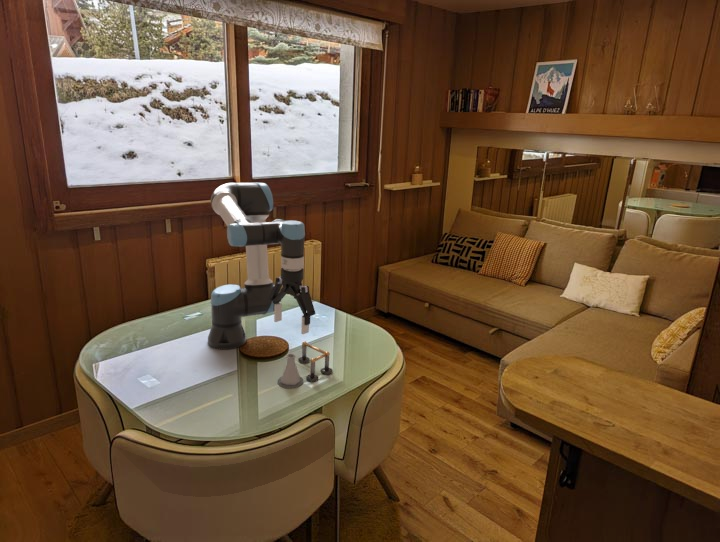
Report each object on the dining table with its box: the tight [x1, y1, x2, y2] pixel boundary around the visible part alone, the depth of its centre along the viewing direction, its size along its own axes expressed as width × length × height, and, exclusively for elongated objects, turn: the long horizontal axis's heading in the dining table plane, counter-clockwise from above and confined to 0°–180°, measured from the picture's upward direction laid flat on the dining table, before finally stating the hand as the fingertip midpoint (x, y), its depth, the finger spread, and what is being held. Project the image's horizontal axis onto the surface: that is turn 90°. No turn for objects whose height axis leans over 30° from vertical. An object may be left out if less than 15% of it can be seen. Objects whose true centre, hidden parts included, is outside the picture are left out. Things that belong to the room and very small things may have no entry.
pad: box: [277, 376, 304, 389], centre depth 176 cm, size 9×9×1 cm
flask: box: [280, 353, 301, 385], centre depth 175 cm, size 7×7×10 cm
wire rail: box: [298, 340, 333, 383], centre depth 184 cm, size 16×12×8 cm
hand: (291, 326), depth 170 cm, fingers open, 13 cm apart
